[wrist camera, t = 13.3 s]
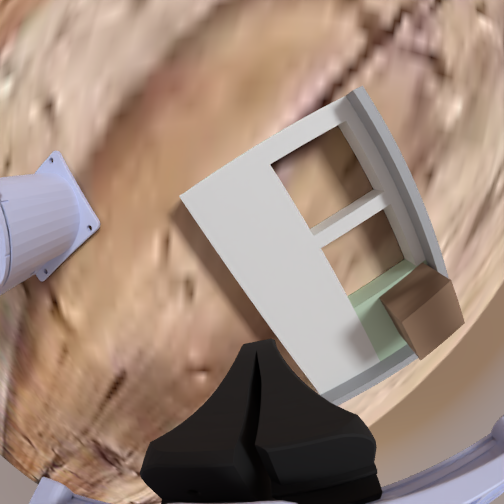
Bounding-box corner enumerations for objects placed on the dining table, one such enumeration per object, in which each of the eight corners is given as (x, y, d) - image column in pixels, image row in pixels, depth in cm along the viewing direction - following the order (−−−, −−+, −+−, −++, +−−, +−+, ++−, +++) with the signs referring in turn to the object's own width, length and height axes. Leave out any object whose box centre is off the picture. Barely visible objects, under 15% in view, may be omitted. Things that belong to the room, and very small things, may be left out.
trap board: (319, 385, 25) (327, 410, 22) (185, 193, 20) (173, 198, 17) (440, 309, 23) (459, 326, 20) (345, 97, 18) (362, 85, 15)
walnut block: (399, 334, 21) (420, 360, 17) (378, 297, 20) (401, 322, 16) (438, 301, 21) (464, 322, 17) (422, 262, 20) (450, 280, 16)
